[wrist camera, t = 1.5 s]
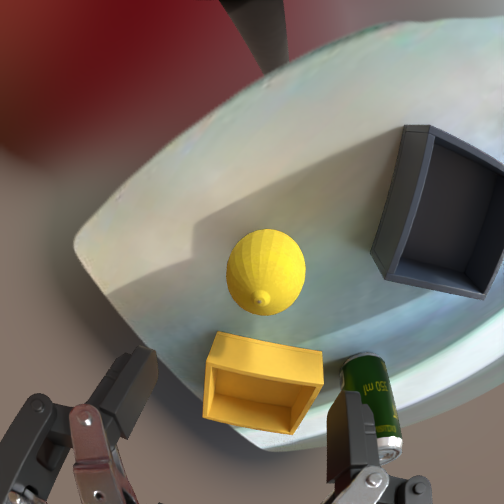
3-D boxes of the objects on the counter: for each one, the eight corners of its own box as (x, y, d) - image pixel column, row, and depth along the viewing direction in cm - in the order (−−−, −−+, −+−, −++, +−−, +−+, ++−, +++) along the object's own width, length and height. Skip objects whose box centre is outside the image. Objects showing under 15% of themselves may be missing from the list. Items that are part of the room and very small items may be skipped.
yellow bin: (217, 330, 28) (205, 361, 24) (322, 351, 27) (324, 384, 23) (211, 390, 33) (202, 417, 29) (294, 406, 32) (292, 435, 28)
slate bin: (404, 124, 17) (429, 124, 13) (498, 169, 17) (528, 180, 12) (369, 253, 22) (384, 280, 18) (462, 275, 21) (484, 300, 17)
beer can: (341, 384, 29) (346, 473, 18) (336, 356, 27) (343, 454, 17) (384, 375, 28) (401, 461, 17) (384, 345, 26) (408, 440, 15)
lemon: (305, 216, 22) (310, 261, 15) (302, 278, 24) (302, 339, 17) (236, 215, 23) (208, 257, 15) (239, 275, 25) (217, 333, 18)
